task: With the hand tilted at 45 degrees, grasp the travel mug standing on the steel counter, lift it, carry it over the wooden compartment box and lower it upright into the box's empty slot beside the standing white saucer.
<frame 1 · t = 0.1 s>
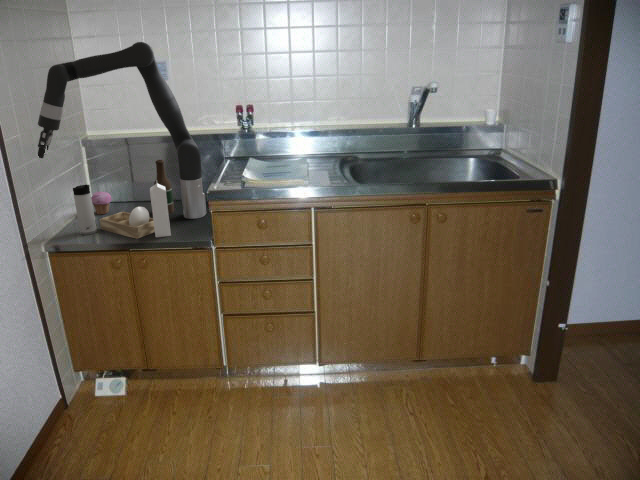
hand: (42, 155, 215), 31 cm above the table, tool tilted 20°, fingers open, 8 cm apart
milk: (163, 234, 220), on the table
travel mug: (89, 233, 223), on the table
wooden compartment box: (130, 229, 226), on the table
beer bottle: (165, 212, 247), on the table
cupcake: (103, 213, 248), on the table
saucer: (141, 232, 223), resting on wooden compartment box
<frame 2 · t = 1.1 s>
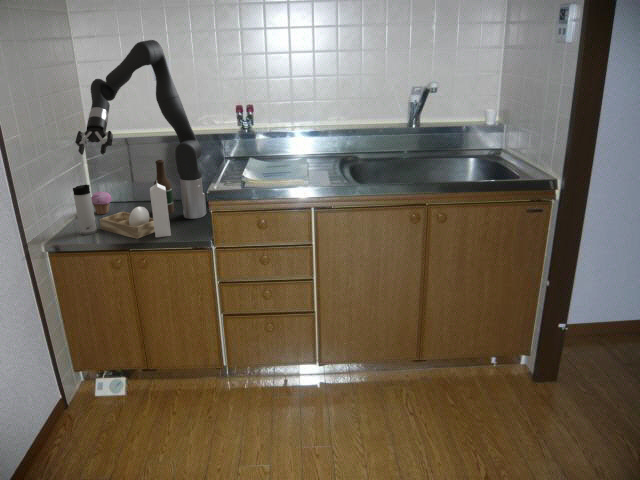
hand: (91, 153, 223), 30 cm above the table, tool tilted 45°, fingers open, 8 cm apart
nothing on the table moved.
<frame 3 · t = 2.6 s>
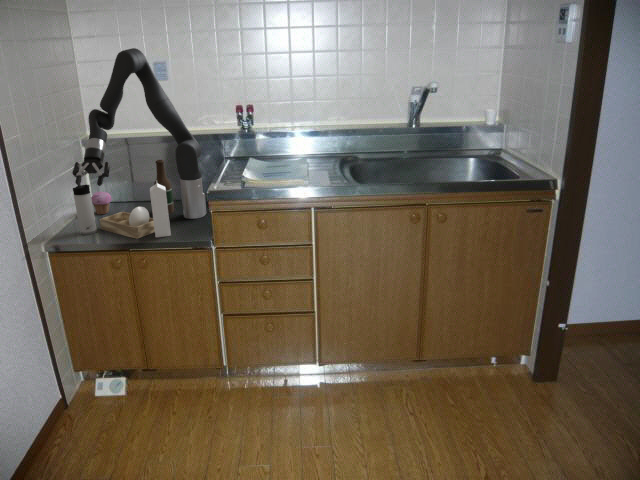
hand: (88, 185, 223), 18 cm above the table, tool tilted 45°, fingers open, 8 cm apart
nothing on the table moved.
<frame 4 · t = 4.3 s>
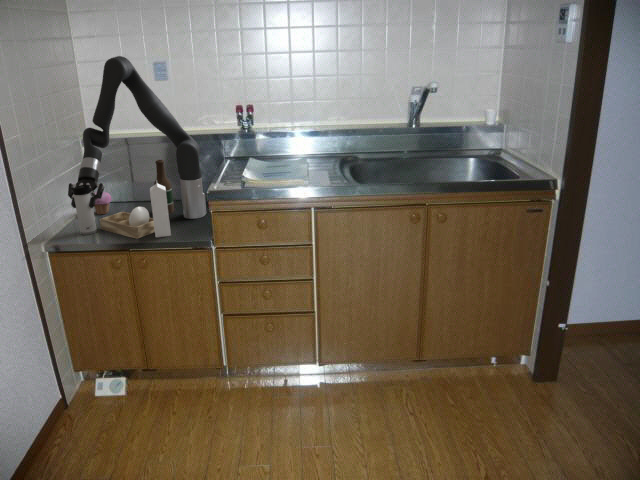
hand: (82, 207, 218), 11 cm above the table, tool tilted 45°, fingers closed on travel mug, 6 cm apart
travel mug: (89, 232, 223), on the table, touching gripper
everything else where it was.
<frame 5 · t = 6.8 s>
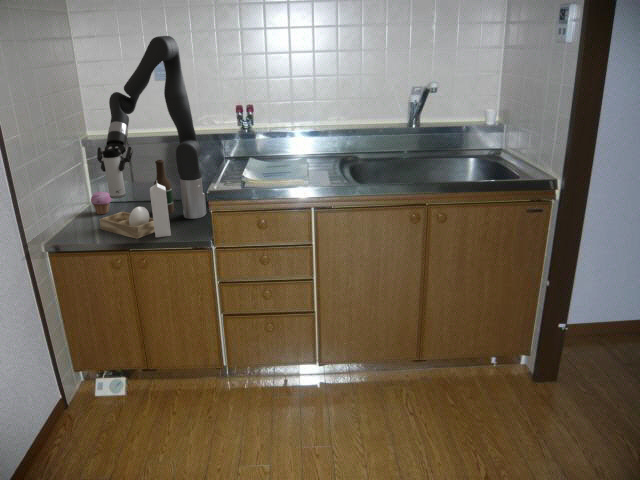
hand: (112, 170, 218), 25 cm above the table, tool tilted 45°, fingers closed on travel mug, 6 cm apart
travel mug: (118, 197, 224), point 13 cm above the table, touching gripper
everything else where it was.
when the fingers open (13 cm above the table, at t = 9.7 s): travel mug stays where it is, resting on wooden compartment box.
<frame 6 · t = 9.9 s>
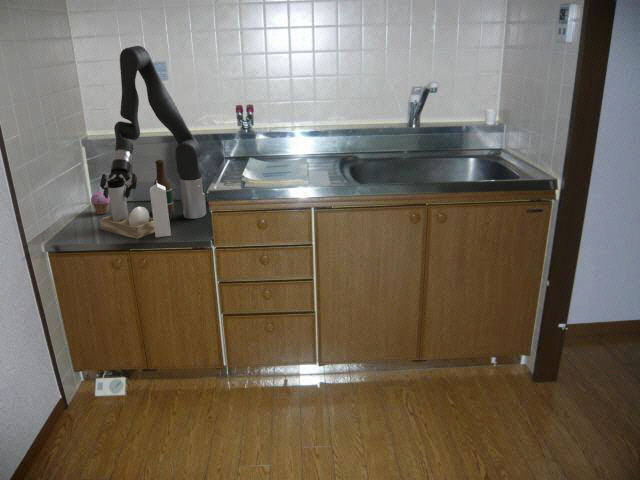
hand: (116, 197, 222), 14 cm above the table, tool tilted 45°, fingers open, 8 cm apart
travel mug: (122, 225, 228), point 1 cm above the table, touching wooden compartment box
everything else where it was.
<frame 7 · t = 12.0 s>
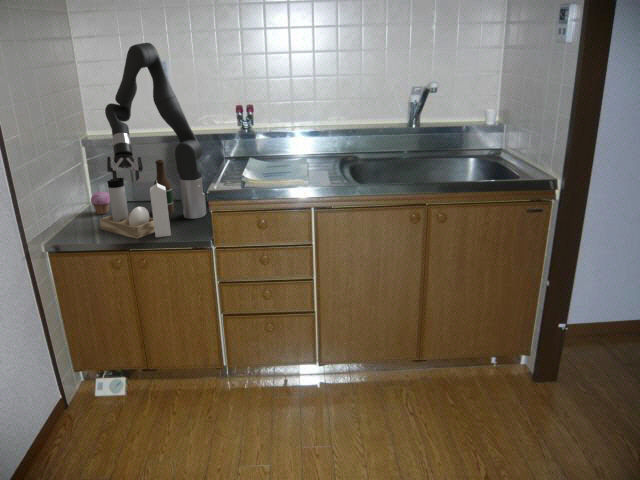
hand: (126, 180, 232), 18 cm above the table, tool tilted 40°, fingers open, 8 cm apart
nothing on the table moved.
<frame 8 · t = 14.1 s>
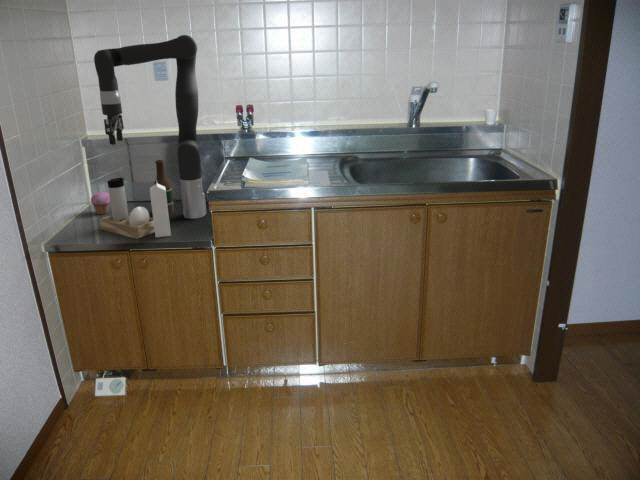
hand: (116, 142, 224), 34 cm above the table, tool pointing down, fingers open, 8 cm apart
nothing on the table moved.
at the end: travel mug inside the target area on the wooden compartment box (0.3 cm from its centre), point 1.0 cm above the wooden compartment box's base; travel mug tilted 0°; the gripper is holding nothing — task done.
